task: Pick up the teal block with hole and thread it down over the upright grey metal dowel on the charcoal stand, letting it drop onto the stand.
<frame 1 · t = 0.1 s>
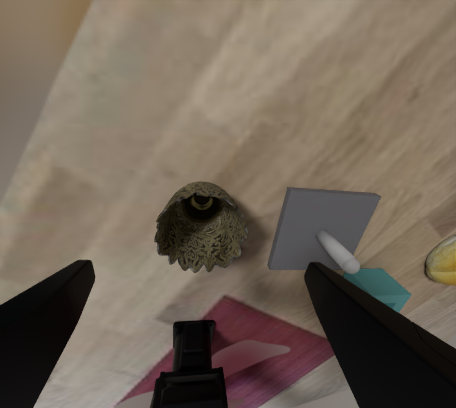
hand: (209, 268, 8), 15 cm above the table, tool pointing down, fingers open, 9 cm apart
bread roll: (445, 254, 33), on the table
teal block with hole: (357, 283, 33), on the table
cup: (202, 197, 23), on the table
post stand: (318, 231, 27), on the table
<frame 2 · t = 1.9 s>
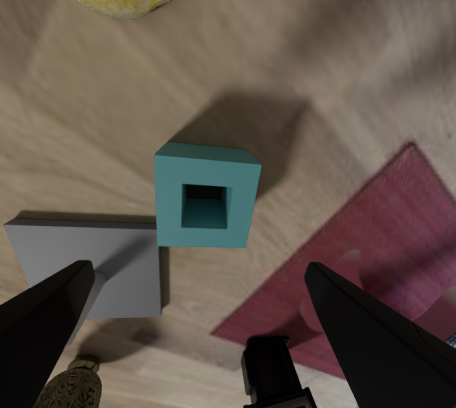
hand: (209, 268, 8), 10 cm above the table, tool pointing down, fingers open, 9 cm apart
teal block with hole: (205, 182, 17), on the table
cup: (87, 359, 27), on the table
post stand: (100, 271, 20), on the table
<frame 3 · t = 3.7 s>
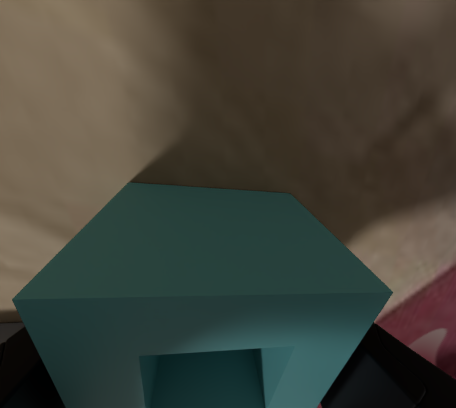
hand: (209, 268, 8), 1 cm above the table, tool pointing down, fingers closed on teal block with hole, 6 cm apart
teal block with hole: (208, 252, 9), on the table, touching gripper
post stand: (31, 386, 12), on the table
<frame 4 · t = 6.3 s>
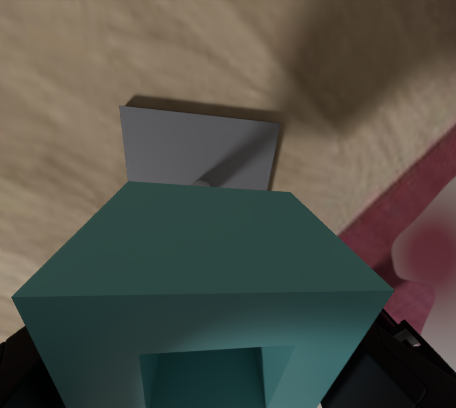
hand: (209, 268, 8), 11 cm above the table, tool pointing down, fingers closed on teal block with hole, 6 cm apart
teal block with hole: (208, 251, 9), point 10 cm above the table, touching gripper
post stand: (201, 185, 18), on the table
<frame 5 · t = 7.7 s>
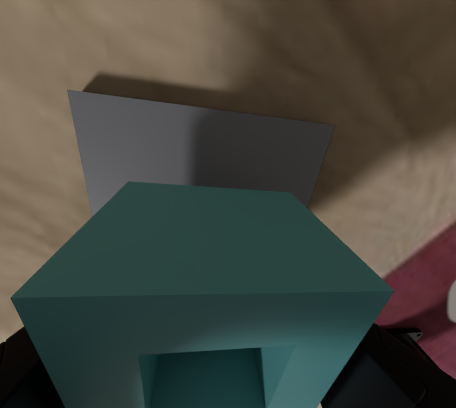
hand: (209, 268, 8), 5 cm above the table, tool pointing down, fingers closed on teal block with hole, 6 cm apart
teal block with hole: (208, 251, 9), point 4 cm above the table, touching gripper
post stand: (205, 214, 12), on the table
when the fingers open (4 cm above the table, at t = 9.0 s): teal block with hole drops 2 cm, resting on post stand.
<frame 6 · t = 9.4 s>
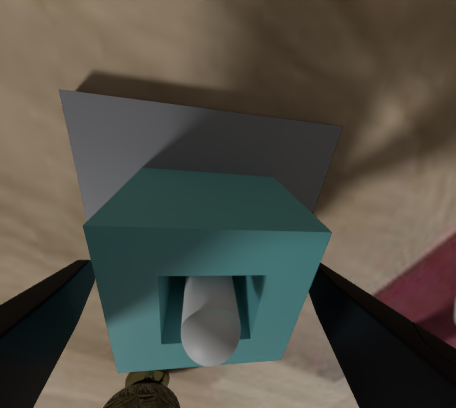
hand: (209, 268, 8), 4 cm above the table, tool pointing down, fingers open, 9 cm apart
teal block with hole: (206, 228, 11), point 1 cm above the table, touching post stand
cup: (150, 367, 18), on the table
post stand: (206, 219, 12), on the table
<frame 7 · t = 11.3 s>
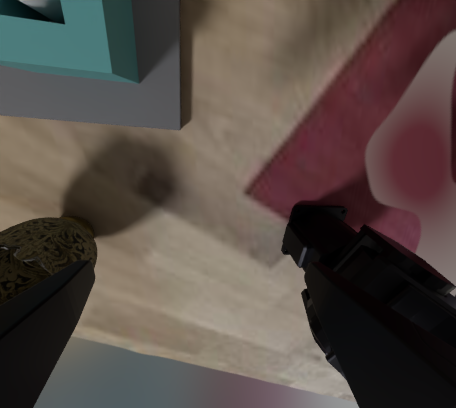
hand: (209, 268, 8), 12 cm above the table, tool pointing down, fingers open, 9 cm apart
teal block with hole: (77, 15, 12), point 1 cm above the table, touching post stand
cup: (77, 228, 19), on the table
post stand: (85, 22, 13), on the table
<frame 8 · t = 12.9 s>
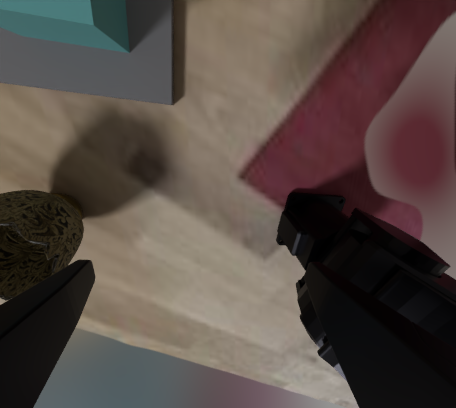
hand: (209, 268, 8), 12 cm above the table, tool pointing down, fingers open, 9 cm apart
cup: (66, 207, 19), on the table
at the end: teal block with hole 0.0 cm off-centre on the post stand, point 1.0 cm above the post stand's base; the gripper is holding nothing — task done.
